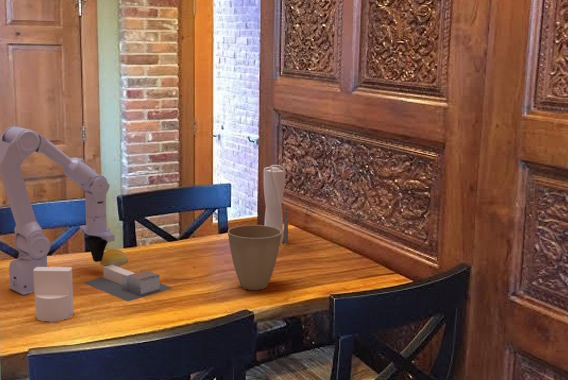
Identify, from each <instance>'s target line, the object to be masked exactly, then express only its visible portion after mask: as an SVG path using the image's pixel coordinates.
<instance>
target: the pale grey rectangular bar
mask: <svg viewBox="0 0 568 380" xmlns="http://www.w3.org/2000/svg"><path fill="white" fill-rule="evenodd" d="M134 274H137V273H135V272H133V271H130V270H128V269H124V268H122V267H119V266H114V265H109V266H106V265H104V266H103V277H104V278H106V279H108V280H111V281H113V282H116V283H118V284H121V285H122V276H123V275H126V276H130V275H134Z"/></svg>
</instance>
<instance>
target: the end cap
mask: <svg viewBox="0 0 568 380" xmlns="http://www.w3.org/2000/svg"><path fill="white" fill-rule="evenodd" d="M160 277H161V276H160V274H158V273H155V272H153V271H151V270H145V269H142V270H141V271H140V272H139V273H136V274H134V275H130V276H126V275H123V276H122V290H127V291H130V292H132V293H134V294H137V295H139V296H142V295H146V294H149V293H153V292H156V291H159V290H160V282H161V281H160Z"/></svg>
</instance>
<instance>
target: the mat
mask: <svg viewBox="0 0 568 380" xmlns="http://www.w3.org/2000/svg"><path fill="white" fill-rule="evenodd" d="M82 284H85V285H88V286H90V287H92V288H95V289H97V290H99V291H101V292H104V293H106V294H108V295H111V296H114V297H117V298H119V299H121V300H124V301H127V302H131V301H134V300H138V299H141V298H145V297H148V296H152V295H155V294H158V293H162V292H165V291H168V290H172V289H173V287H171V286H169V285H166V284H163V283H160V290H159V291H156V292H153V293H149V294H146V295H142V296H139V295H137V294H134V293H132V292H130V291H127V290H122V285H121V284H118V283H116V282H113V281H111V280H108V279H106V278H104V276H103V277H99V278H94V279H90V280H87V281H83V282H82Z"/></svg>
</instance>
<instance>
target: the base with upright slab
mask: <svg viewBox="0 0 568 380" xmlns="http://www.w3.org/2000/svg"><path fill="white" fill-rule="evenodd" d="M33 272H34V292H33V293H34V310H35V319H36V318H37V319H38V320H37V319H36V320H37V321H39V320H41V321H40V322H43V321H50V322H49V323H52V322H51V321H58V322H61V321H60V320H63V321H65V320H64V319H67V318H69V319H70V317H71V316H72V315H73V316H74V309H75V308H74V289H73V268H72V267H69V266H65V267H64V266H56V267H55V266H47V267H36V268H35V269H34V270H33ZM73 316H72V317H73ZM72 317H71V318H72ZM67 320H68V319H67Z"/></svg>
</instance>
